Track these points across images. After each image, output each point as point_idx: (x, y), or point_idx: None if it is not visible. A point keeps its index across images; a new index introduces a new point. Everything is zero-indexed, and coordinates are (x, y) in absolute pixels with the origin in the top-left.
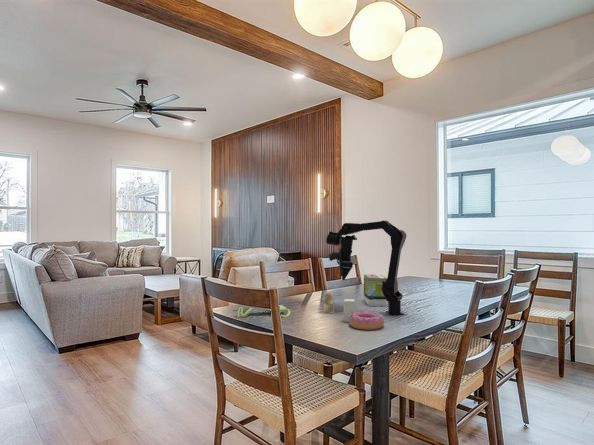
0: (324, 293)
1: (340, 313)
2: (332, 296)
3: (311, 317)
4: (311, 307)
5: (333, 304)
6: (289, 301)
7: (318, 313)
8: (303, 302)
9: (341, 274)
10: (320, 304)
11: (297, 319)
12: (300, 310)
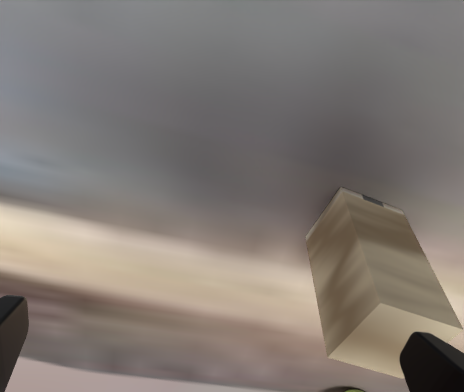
0: (383, 369)
1: (432, 164)
2: (450, 314)
3: None
4: (187, 284)
5: (394, 240)
6: None
7: None
8: (25, 295)
9: (10, 348)
10: (90, 218)
11: None
12: (256, 340)
